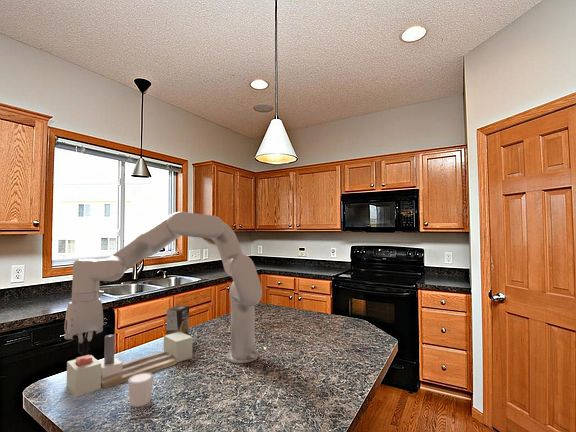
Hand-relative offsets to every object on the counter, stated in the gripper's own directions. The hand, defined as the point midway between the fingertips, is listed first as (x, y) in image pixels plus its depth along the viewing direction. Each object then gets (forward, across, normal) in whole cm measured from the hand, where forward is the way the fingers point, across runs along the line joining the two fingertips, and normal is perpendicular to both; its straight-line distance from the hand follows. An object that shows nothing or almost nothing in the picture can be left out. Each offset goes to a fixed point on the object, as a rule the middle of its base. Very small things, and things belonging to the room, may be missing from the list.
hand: (83, 353), depth 101 cm
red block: (+6, 0, 0) cm, 6 cm away
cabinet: (+11, -33, 0) cm, 35 cm away
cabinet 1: (+11, 0, 0) cm, 11 cm away
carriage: (+8, -8, 0) cm, 11 cm away
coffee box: (+11, -40, -13) cm, 44 cm away
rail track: (+11, -17, 0) cm, 20 cm away
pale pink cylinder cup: (+11, -9, +22) cm, 26 cm away
